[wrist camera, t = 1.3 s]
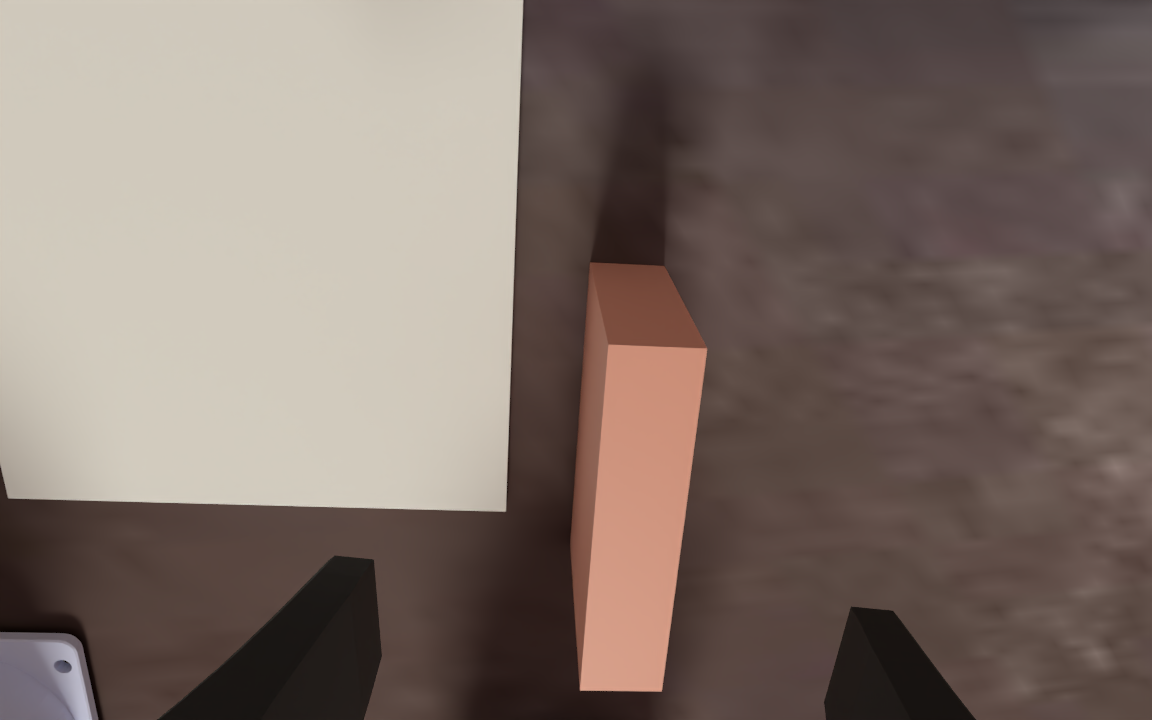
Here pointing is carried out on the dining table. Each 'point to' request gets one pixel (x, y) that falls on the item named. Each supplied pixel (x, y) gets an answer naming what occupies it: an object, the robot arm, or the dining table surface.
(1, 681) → the robot arm
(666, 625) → the slab
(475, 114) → the mat
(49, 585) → the dining table surface
